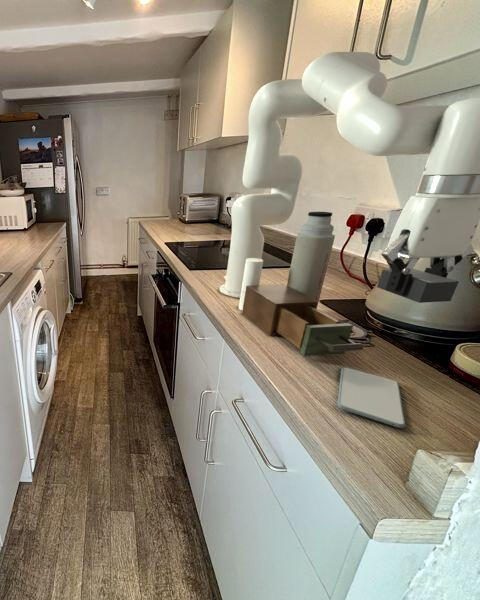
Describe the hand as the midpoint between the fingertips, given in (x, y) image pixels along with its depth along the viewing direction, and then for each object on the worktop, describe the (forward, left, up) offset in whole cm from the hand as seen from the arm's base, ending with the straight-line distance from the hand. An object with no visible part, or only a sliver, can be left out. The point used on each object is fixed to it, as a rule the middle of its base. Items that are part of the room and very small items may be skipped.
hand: (412, 291), depth 57 cm
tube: (-33, -10, -17) cm, 39 cm away
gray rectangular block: (0, 0, 0) cm, 0 cm away
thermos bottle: (-28, +2, -17) cm, 33 cm away
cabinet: (-23, -8, -17) cm, 30 cm away
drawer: (-9, -8, -16) cm, 20 cm away
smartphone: (+8, -10, -17) cm, 21 cm away
